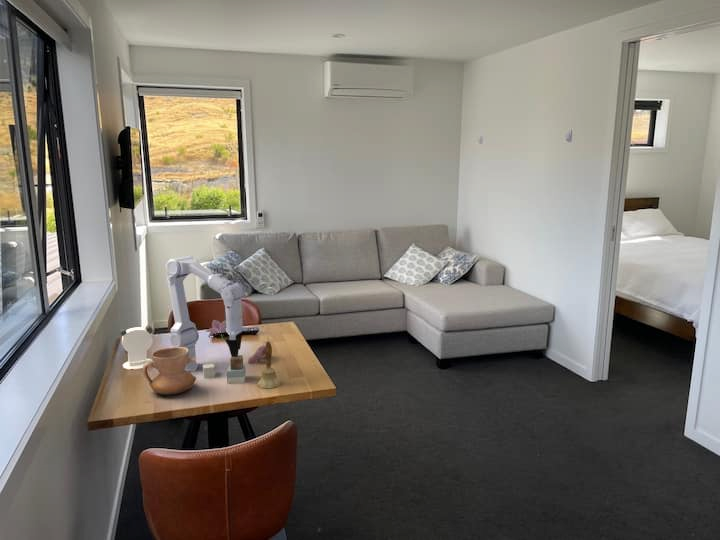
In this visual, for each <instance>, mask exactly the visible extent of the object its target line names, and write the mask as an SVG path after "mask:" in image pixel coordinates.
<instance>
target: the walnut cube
mask: <svg viewBox="0 0 720 540" xmlns="http://www.w3.org/2000/svg"><path fill="white" fill-rule="evenodd" d="M229 361H230V362H229V363H230V365H231V370H240V369H242V368H243V365H244V355H243V354H241V355H239V354H238V356H237V357H232V356H230V360H229Z"/></svg>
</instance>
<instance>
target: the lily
mask: <svg viewBox="0 0 720 540" xmlns="http://www.w3.org/2000/svg"><path fill="white" fill-rule="evenodd" d="M226 329H227V328H226V319H225V320H223V321H222V322H220V321H218V320H216V319H213V320H212V323H211V328H209V329H207V330H205V332H206V333H207V332H208V336H207V337H210V336H211V337H213V336H214V335H213V334H215V335H217V334H218V333H221V332H225V331H224V330H226ZM216 333H217V334H216ZM212 335H213V336H212ZM220 336H221V338H222V339H221V340H224V338H223V335H222V334H221V335H220ZM211 337H210V338H211Z"/></svg>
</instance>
